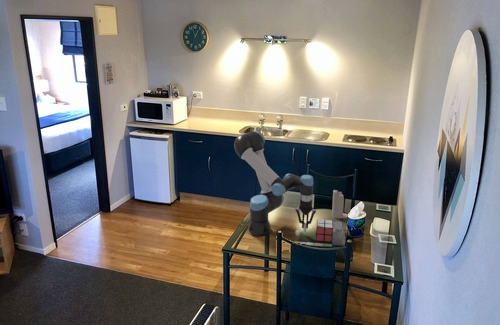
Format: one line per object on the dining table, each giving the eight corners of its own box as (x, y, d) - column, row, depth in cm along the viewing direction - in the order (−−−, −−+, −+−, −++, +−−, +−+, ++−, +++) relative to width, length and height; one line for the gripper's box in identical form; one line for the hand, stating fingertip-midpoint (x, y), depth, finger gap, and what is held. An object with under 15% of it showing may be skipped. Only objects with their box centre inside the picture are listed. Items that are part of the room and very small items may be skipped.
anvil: (332, 244, 244) (333, 231, 241) (331, 231, 259) (332, 219, 256) (345, 246, 243) (346, 232, 240) (344, 232, 258) (345, 220, 254)
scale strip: (293, 243, 247) (293, 243, 246) (293, 241, 249) (293, 241, 249) (331, 246, 242) (331, 246, 242) (331, 244, 245) (331, 244, 244)
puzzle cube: (332, 242, 248) (333, 228, 244) (315, 240, 249) (316, 226, 246) (331, 233, 257) (332, 220, 253) (316, 232, 258) (316, 219, 255)
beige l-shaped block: (353, 218, 275) (355, 192, 268) (332, 218, 275) (334, 192, 268) (350, 213, 282) (352, 187, 275) (331, 213, 282) (332, 187, 275)
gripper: (295, 201, 244) (294, 234, 252) (316, 203, 242) (314, 236, 250) (296, 196, 251) (294, 228, 259) (317, 197, 248) (315, 230, 257)
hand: (304, 232), depth 255 cm, fingers closed
